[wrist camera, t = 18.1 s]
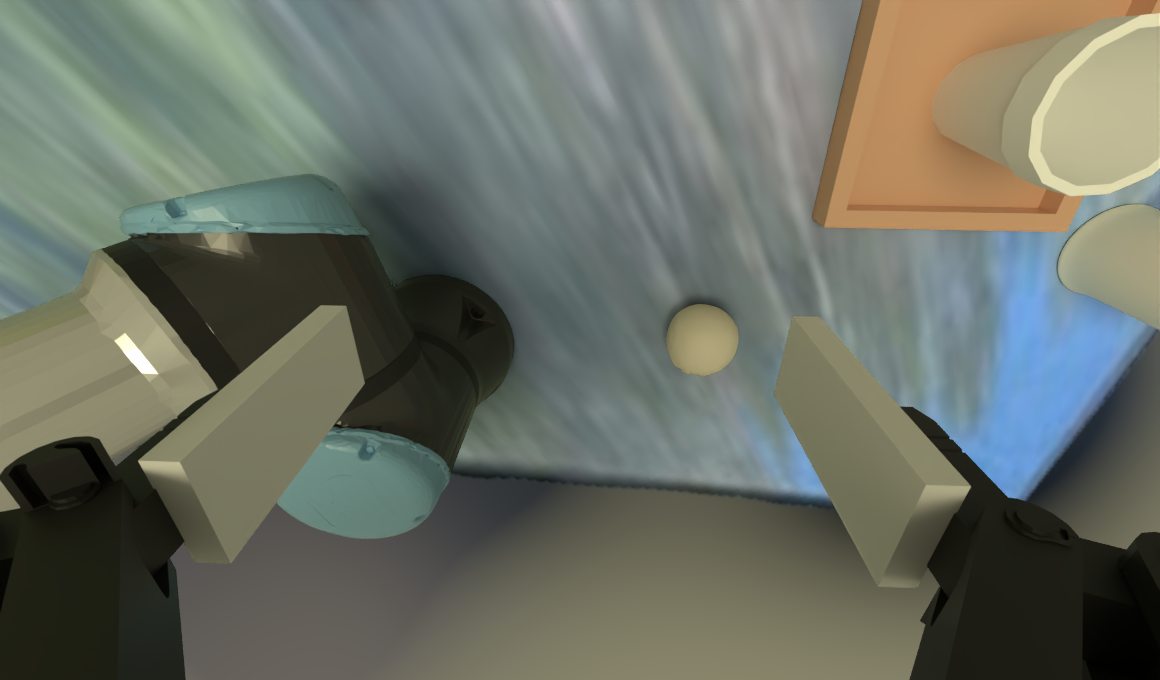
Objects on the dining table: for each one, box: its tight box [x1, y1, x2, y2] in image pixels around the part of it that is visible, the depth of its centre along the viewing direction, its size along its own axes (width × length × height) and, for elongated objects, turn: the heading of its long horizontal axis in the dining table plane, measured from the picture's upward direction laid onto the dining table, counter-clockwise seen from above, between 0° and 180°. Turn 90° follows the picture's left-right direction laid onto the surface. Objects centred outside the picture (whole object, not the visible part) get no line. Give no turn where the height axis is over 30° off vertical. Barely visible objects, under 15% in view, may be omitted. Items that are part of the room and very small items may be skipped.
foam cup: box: [932, 13, 1160, 196], centre depth 33 cm, size 10×9×13 cm
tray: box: [812, 0, 1160, 232], centre depth 39 cm, size 20×20×3 cm
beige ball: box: [666, 304, 739, 376], centre depth 48 cm, size 7×7×7 cm
